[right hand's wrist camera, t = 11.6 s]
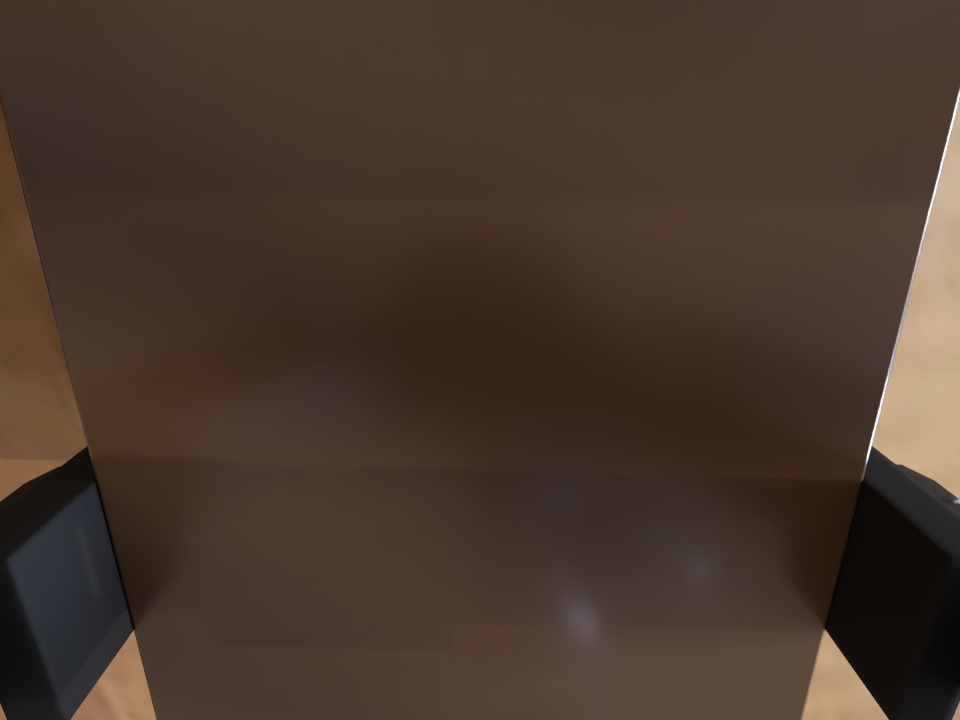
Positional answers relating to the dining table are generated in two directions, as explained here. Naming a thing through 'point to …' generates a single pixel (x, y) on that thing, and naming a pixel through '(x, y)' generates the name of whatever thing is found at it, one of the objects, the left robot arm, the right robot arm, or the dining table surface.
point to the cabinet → (479, 334)
